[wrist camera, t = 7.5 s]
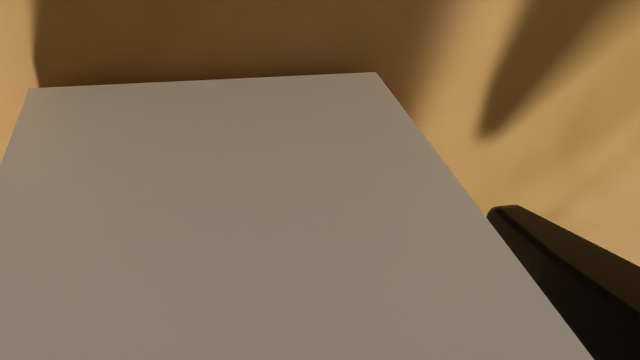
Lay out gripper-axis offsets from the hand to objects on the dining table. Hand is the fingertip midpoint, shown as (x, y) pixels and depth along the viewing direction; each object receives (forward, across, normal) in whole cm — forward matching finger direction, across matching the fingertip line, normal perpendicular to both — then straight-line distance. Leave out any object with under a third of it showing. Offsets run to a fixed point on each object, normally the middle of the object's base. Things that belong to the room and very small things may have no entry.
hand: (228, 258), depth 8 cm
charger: (+1, 0, +1) cm, 1 cm away
